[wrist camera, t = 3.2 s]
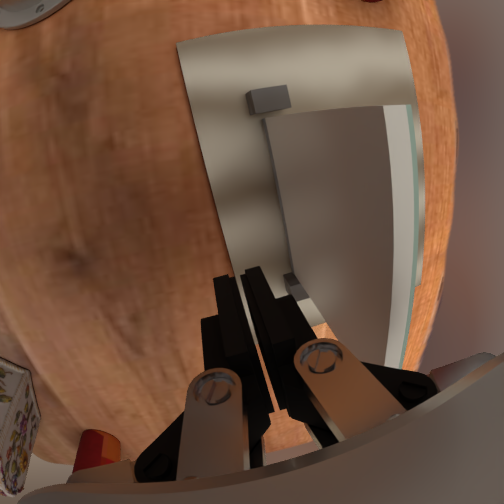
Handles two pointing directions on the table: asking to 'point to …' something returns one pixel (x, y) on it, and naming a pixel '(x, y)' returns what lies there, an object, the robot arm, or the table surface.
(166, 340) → the table surface
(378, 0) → the paper cup
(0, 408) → the decorative jar
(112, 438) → the coffee cup
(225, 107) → the tile board
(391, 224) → the glazed tile
